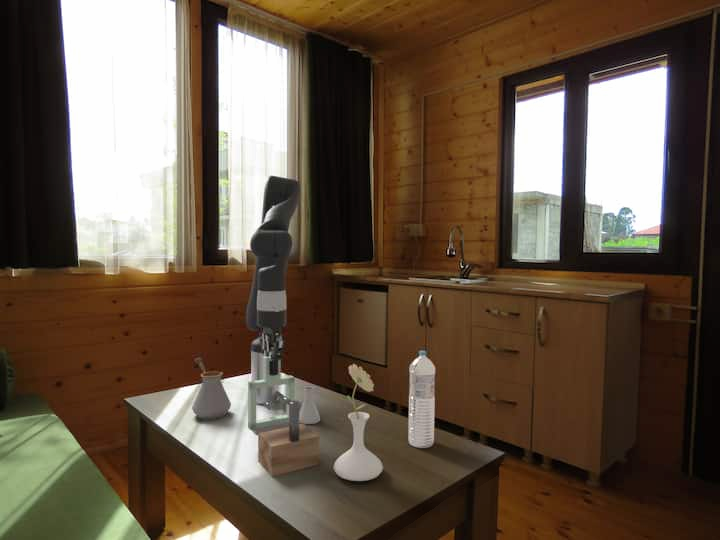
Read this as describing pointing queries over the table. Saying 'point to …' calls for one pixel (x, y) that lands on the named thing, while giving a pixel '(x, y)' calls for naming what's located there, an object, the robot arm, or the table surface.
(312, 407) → the flask
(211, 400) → the coffee pot
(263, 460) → the wooden block
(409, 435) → the water bottle
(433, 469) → the table surface
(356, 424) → the flower in vase
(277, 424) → the square frame with post
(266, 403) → the bent wire
